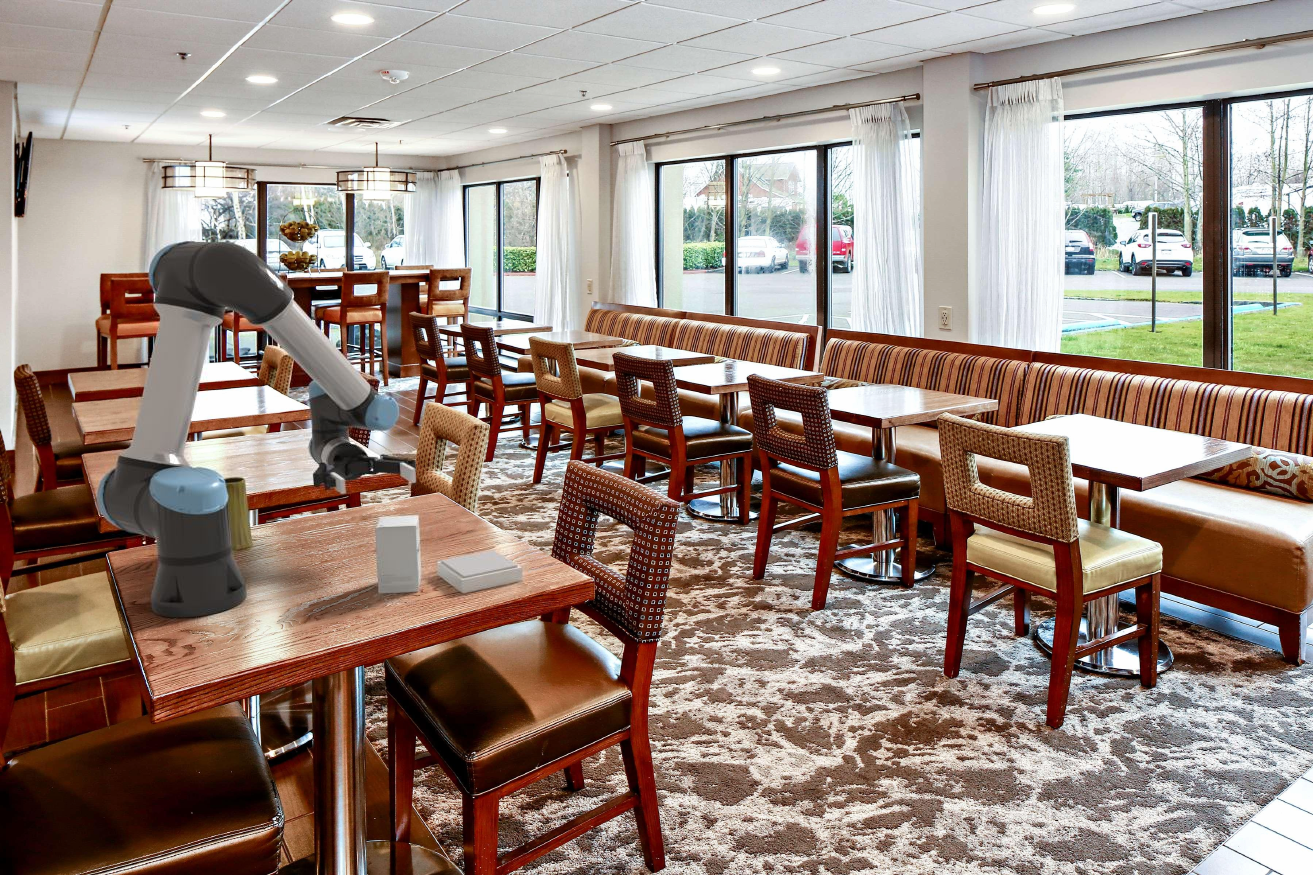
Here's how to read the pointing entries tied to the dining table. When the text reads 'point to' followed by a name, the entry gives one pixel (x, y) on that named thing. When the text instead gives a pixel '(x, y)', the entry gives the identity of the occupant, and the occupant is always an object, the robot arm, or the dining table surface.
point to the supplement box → (398, 554)
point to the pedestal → (479, 571)
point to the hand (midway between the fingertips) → (379, 481)
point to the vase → (238, 513)
